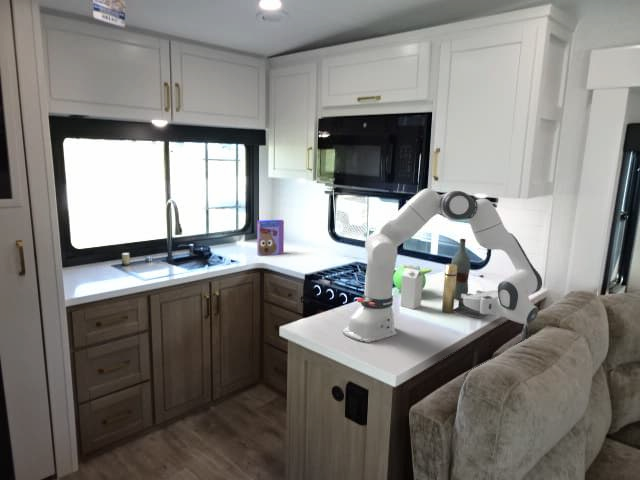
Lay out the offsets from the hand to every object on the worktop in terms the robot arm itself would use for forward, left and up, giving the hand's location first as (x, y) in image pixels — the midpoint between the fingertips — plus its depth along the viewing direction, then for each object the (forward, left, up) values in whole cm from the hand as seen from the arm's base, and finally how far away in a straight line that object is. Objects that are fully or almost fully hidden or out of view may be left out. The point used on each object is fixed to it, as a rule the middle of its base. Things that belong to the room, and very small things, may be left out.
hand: (469, 293), depth 189 cm
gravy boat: (+14, +39, -12) cm, 43 cm away
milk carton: (-3, +27, -12) cm, 30 cm away
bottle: (+26, +18, -12) cm, 34 cm away
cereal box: (+13, +152, -12) cm, 153 cm away
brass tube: (+3, +11, -12) cm, 17 cm away
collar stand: (+12, +3, -12) cm, 17 cm away
